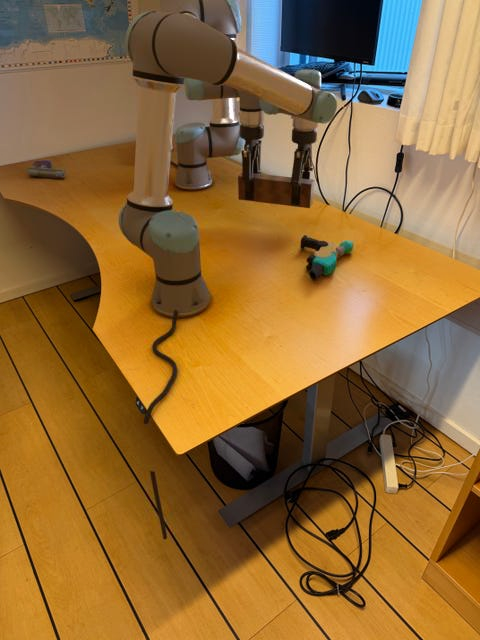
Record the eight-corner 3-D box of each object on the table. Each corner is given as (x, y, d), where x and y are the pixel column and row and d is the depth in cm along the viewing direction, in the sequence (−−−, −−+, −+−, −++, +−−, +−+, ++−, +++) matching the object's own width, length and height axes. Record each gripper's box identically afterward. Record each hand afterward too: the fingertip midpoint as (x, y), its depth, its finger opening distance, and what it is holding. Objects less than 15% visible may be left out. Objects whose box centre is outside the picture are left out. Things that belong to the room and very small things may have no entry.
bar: (312, 203, 157) (314, 179, 152) (309, 208, 153) (311, 184, 149) (242, 194, 164) (242, 172, 159) (238, 199, 160) (238, 176, 155)
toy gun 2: (277, 262, 133) (328, 274, 127) (310, 227, 151) (356, 237, 146) (276, 276, 135) (326, 289, 130) (309, 240, 154) (354, 250, 148)
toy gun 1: (79, 169, 213) (62, 180, 201) (41, 166, 216) (22, 178, 205) (77, 160, 211) (60, 171, 199) (39, 158, 214) (20, 169, 202)
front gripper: (301, 117, 152) (297, 183, 165) (282, 137, 134) (279, 210, 147) (325, 119, 150) (319, 186, 163) (308, 140, 132) (303, 213, 145)
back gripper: (249, 116, 154) (249, 186, 168) (230, 130, 141) (232, 205, 155) (271, 118, 152) (269, 189, 166) (254, 132, 139) (254, 208, 153)
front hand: (300, 197), depth 155 cm, fingers open, 12 cm apart
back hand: (251, 196), depth 160 cm, fingers closed on bar, 4 cm apart
